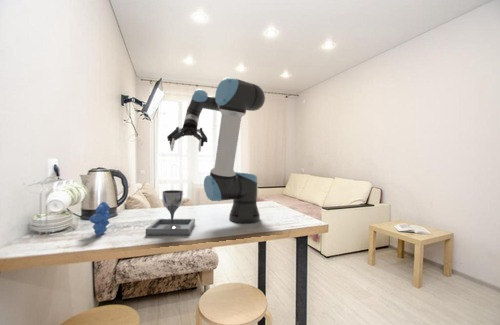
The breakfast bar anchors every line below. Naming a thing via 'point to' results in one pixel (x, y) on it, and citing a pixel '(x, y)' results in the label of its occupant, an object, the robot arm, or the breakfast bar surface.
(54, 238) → the breakfast bar surface
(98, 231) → the grapes
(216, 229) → the breakfast bar surface
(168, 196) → the wine glass
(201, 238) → the breakfast bar surface
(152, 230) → the tray
